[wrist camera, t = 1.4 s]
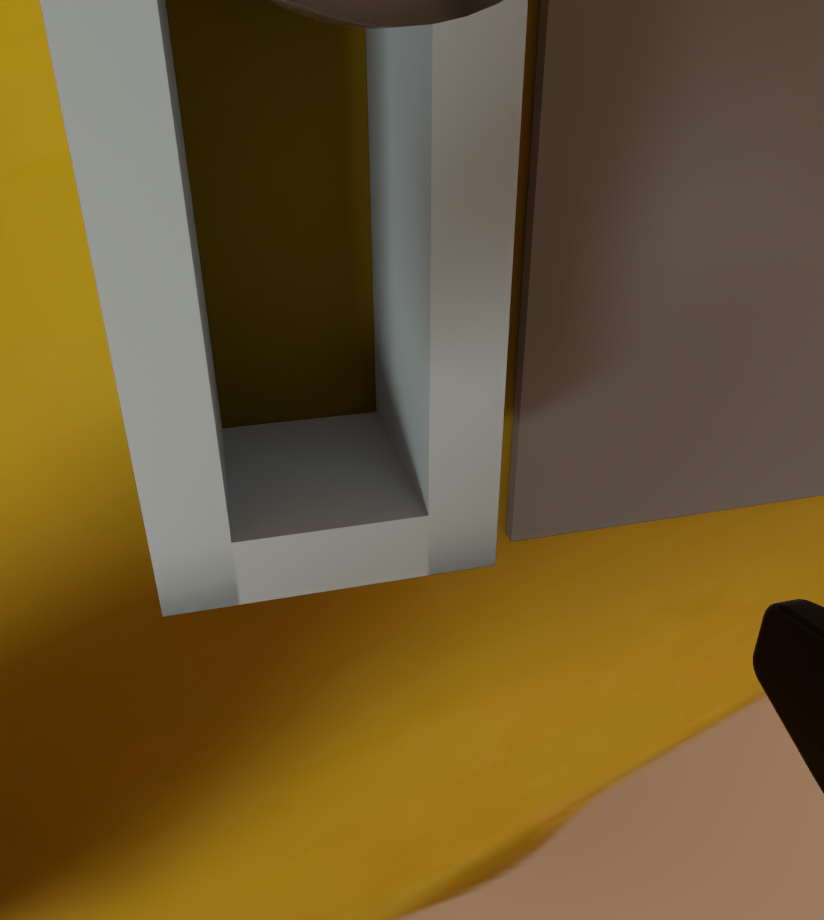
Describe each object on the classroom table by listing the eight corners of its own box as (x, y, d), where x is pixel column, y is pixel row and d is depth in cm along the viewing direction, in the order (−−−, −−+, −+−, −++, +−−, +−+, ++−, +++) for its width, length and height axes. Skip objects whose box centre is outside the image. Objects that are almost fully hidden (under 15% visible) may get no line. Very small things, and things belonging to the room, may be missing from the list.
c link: (431, 456, 18) (495, 565, 14) (169, 487, 17) (162, 616, 13) (438, -274, 12) (552, -421, 8) (28, -309, 11) (-61, -502, 7)
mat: (836, 484, 22) (847, 491, 22) (505, 532, 20) (511, 541, 20) (1057, -256, 14) (1078, -264, 14) (559, -305, 12) (570, -316, 12)
